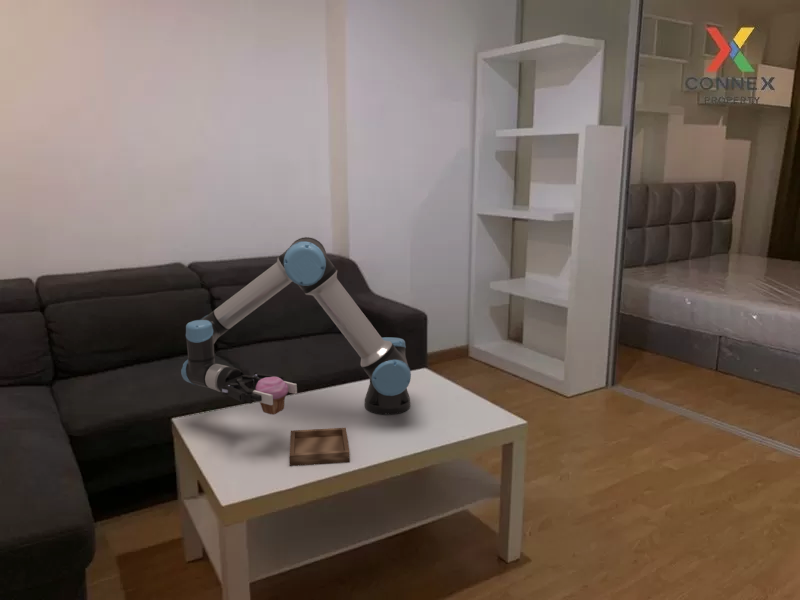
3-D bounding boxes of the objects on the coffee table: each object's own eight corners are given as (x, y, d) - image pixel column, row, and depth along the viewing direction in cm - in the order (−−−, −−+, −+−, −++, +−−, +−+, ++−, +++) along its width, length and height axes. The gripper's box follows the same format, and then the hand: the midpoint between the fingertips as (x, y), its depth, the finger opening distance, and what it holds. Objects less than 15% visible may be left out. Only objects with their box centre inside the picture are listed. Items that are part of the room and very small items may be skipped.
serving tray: (346, 436, 190) (345, 427, 189) (349, 462, 174) (349, 452, 173) (291, 440, 187) (290, 430, 187) (289, 466, 172) (289, 455, 171)
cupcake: (275, 420, 173) (273, 385, 170) (249, 414, 176) (247, 380, 174) (294, 408, 180) (293, 374, 178) (269, 403, 184) (268, 370, 182)
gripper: (253, 380, 196) (310, 395, 184) (196, 403, 178) (256, 421, 166) (251, 357, 194) (309, 370, 183) (194, 377, 176) (254, 393, 165)
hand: (284, 394), depth 175 cm, fingers closed on cupcake, 9 cm apart
